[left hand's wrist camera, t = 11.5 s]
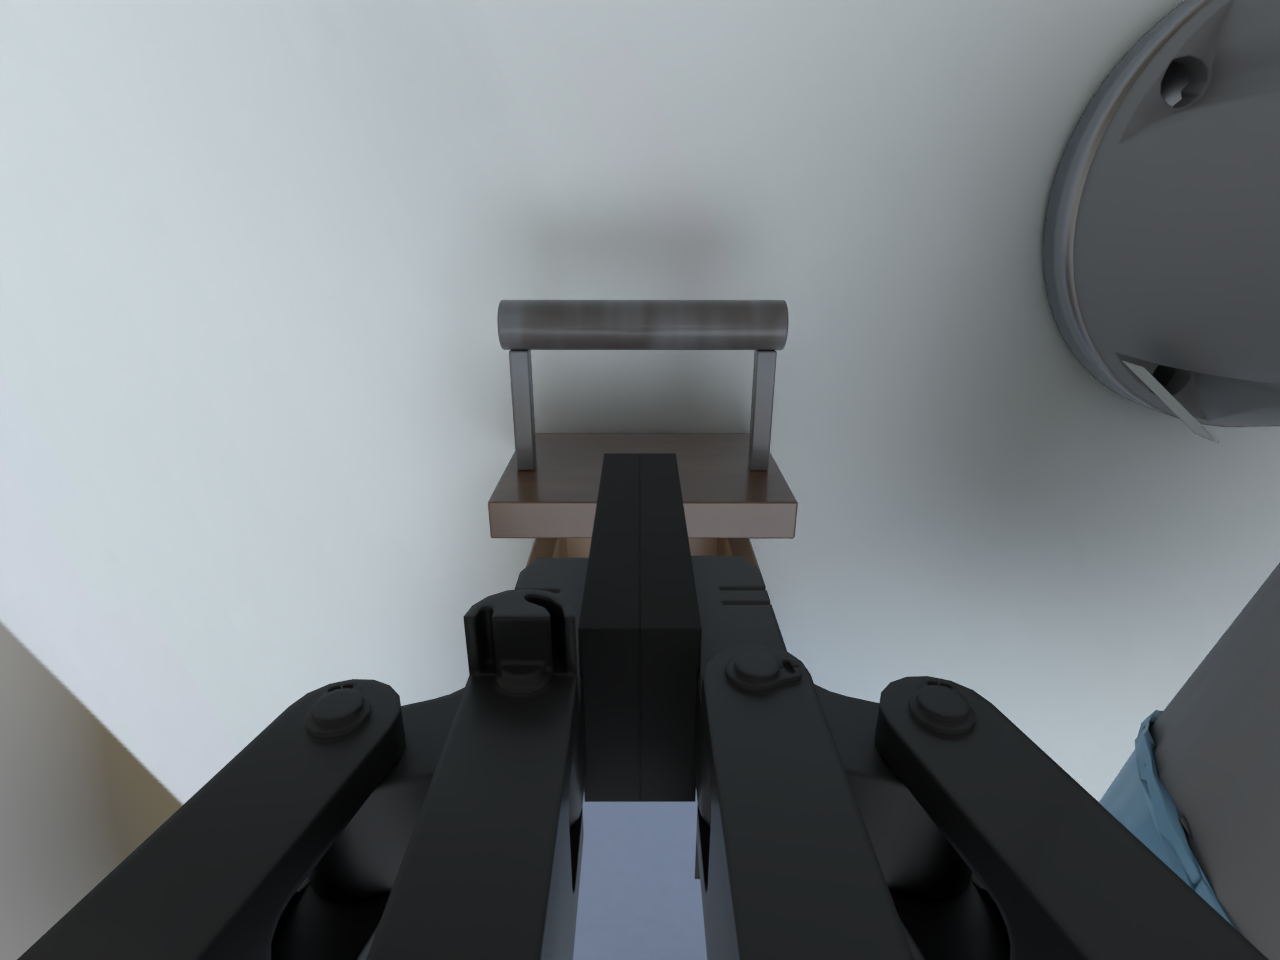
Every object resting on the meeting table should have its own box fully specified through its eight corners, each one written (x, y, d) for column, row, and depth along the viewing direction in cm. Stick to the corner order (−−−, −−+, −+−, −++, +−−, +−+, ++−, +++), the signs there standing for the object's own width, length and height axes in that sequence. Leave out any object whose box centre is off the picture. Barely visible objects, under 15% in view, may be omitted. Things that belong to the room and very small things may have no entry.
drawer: (515, 287, 25) (471, 312, 18) (769, 287, 25) (815, 313, 18) (548, 824, 34) (526, 968, 28) (734, 825, 34) (756, 967, 28)
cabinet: (525, 615, 31) (484, 762, 23) (757, 615, 31) (800, 762, 23) (547, 946, 39) (522, 1146, 30) (733, 946, 39) (759, 1146, 30)
